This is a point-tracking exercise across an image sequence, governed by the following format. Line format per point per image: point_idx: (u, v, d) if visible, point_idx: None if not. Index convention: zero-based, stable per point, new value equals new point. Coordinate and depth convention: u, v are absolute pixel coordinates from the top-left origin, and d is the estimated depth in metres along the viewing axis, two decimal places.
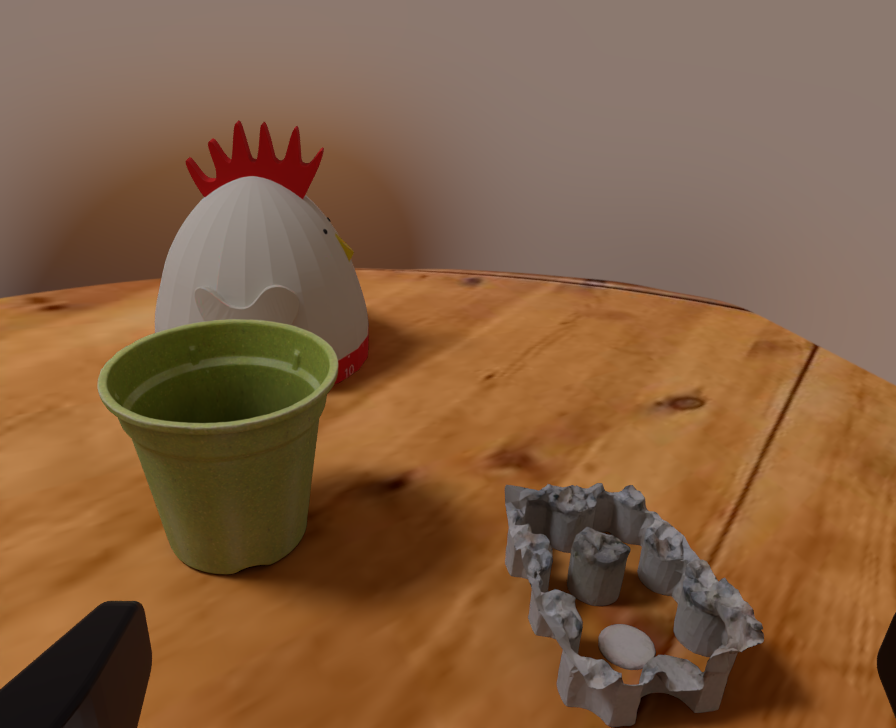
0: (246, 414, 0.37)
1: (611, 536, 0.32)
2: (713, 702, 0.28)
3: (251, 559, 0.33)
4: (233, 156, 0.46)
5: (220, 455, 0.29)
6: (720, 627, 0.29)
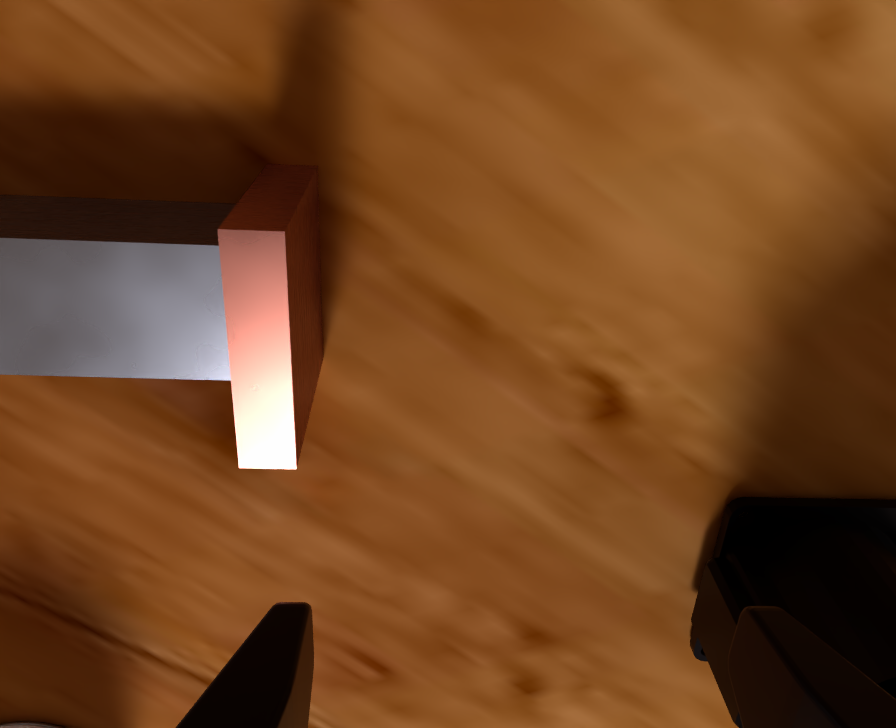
0: None
1: None
2: None
3: None
4: None
5: None
6: None
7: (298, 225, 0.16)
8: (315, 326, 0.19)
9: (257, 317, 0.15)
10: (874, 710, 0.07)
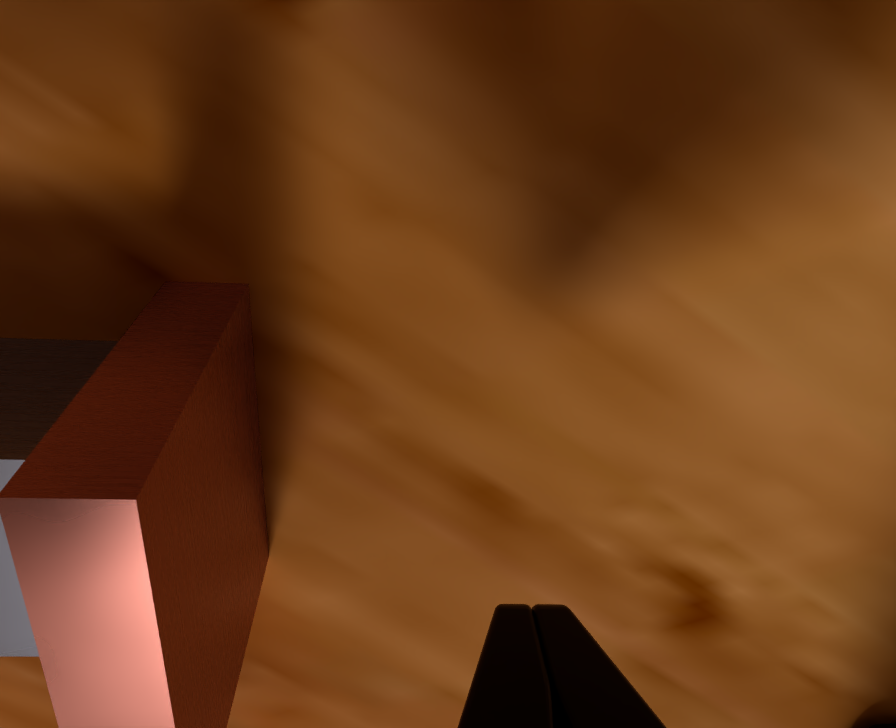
0: None
1: None
2: None
3: None
4: None
5: None
6: None
7: (190, 434, 0.08)
8: (247, 537, 0.12)
9: (97, 640, 0.08)
10: (613, 710, 0.07)
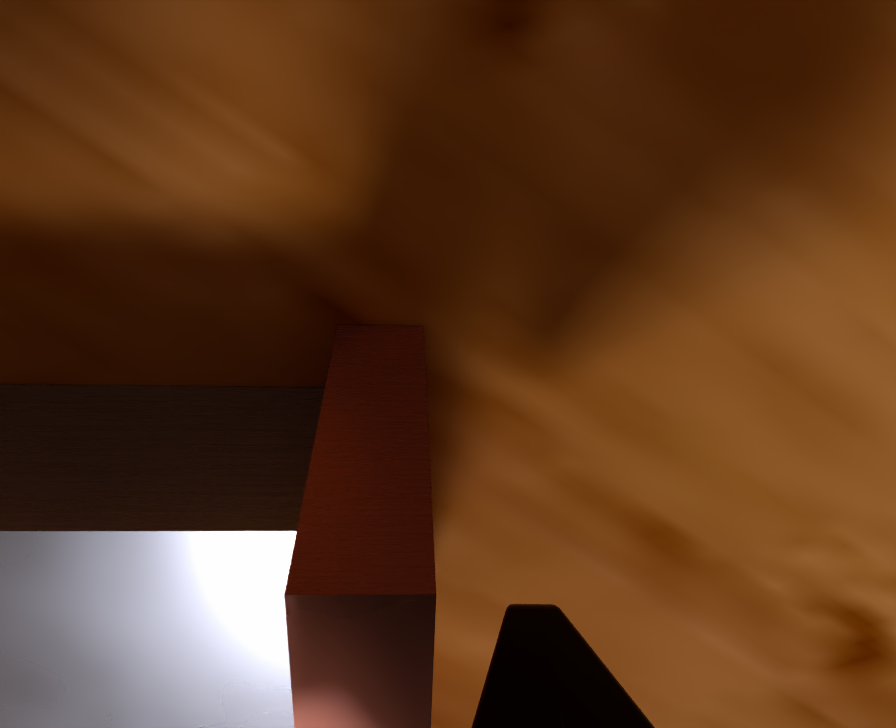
0: None
1: None
2: None
3: None
4: None
5: None
6: None
7: None
8: None
9: None
10: (601, 710, 0.07)
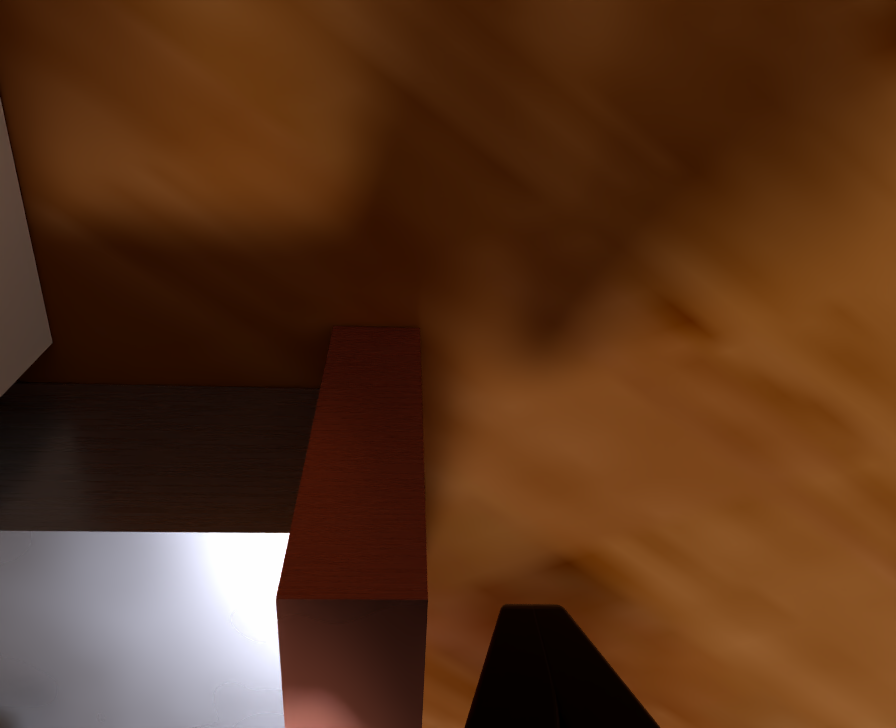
0: None
1: None
2: None
3: None
4: None
5: None
6: None
7: None
8: None
9: None
10: (607, 710, 0.07)
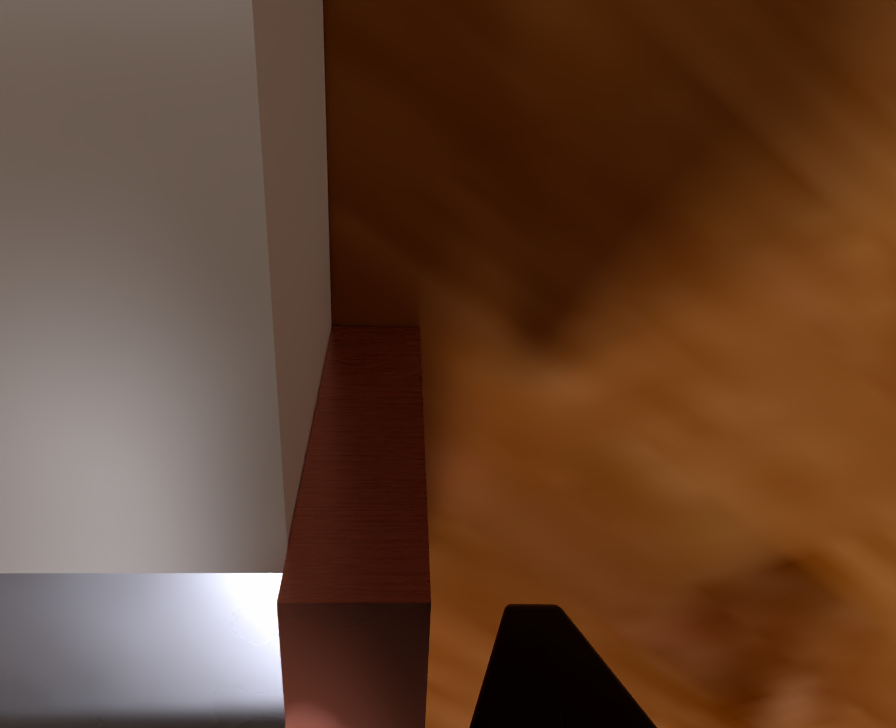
0: None
1: None
2: None
3: None
4: None
5: None
6: None
7: None
8: None
9: None
10: (604, 710, 0.07)
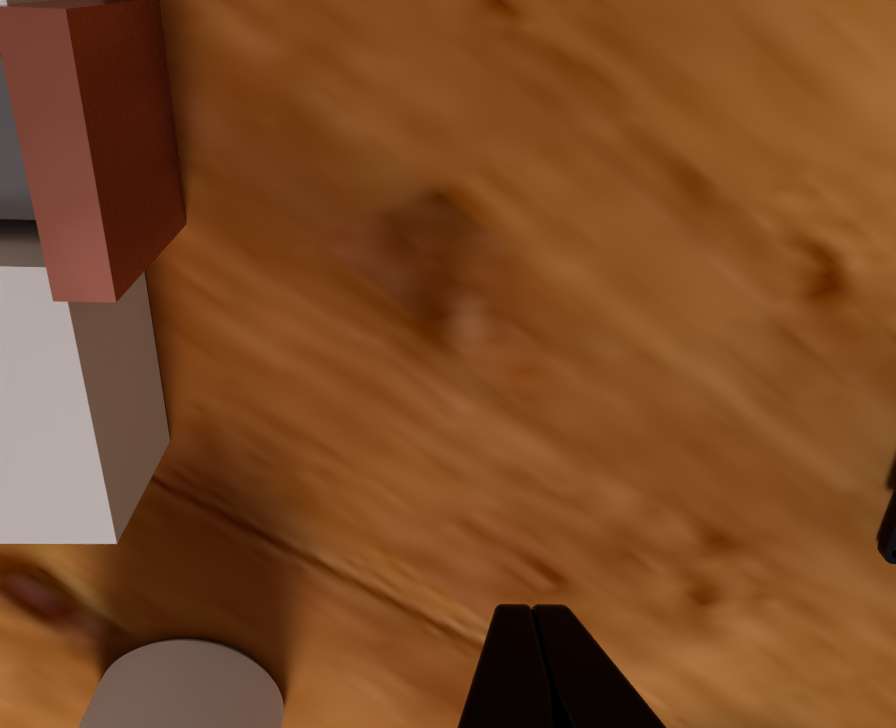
0: None
1: None
2: None
3: None
4: None
5: None
6: None
7: (106, 29, 0.14)
8: (162, 174, 0.18)
9: (49, 116, 0.13)
10: (613, 710, 0.07)
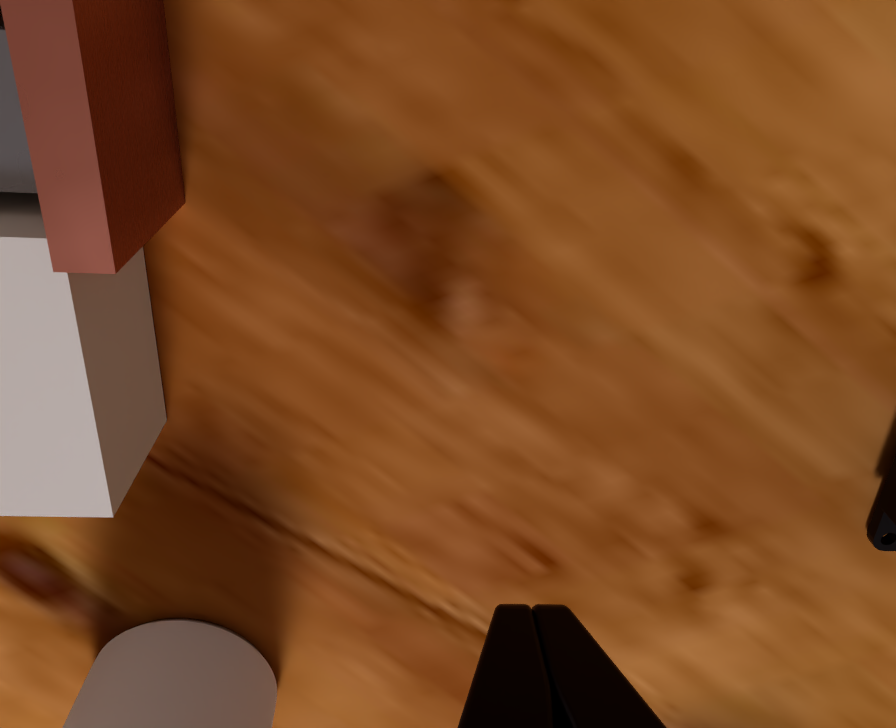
0: None
1: None
2: None
3: None
4: None
5: None
6: None
7: (109, 3, 0.14)
8: (162, 151, 0.18)
9: (51, 87, 0.14)
10: (613, 710, 0.07)
